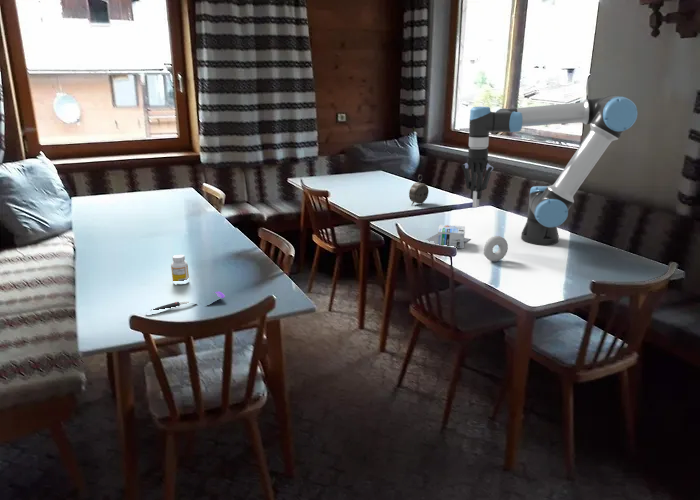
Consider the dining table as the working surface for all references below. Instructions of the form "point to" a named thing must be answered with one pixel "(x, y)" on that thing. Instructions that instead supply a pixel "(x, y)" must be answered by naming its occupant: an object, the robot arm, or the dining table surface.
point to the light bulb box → (451, 235)
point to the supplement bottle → (179, 268)
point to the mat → (435, 237)
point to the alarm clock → (418, 192)
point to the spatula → (184, 302)
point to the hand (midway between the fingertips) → (475, 206)
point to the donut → (501, 251)
